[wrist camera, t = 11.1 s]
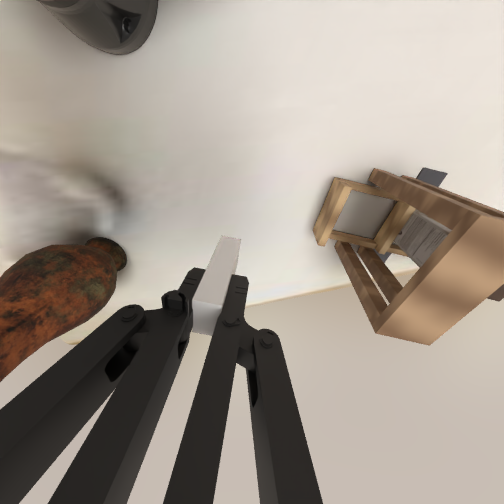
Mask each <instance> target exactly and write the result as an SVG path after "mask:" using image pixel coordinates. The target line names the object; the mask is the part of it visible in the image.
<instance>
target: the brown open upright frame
mask: <svg viewBox="0 0 504 504" xmlns="http://www.w3.org/2000/svg"><path fill="white" fill-rule="evenodd" d="M368 180H369V181H370V182H372V183H374V184H375V185H377V186H379V187H380V188H382V189H384V190H385V191H387V192H389V193H390V194H392V195H394V196H395V197H397V198H399V199H400V200H402V201H404V202H405V203H407V204H409V205H410V206H412V207H414V208H415V209H417V210H419V211H420V212H422V213H424V214H425V215H427V216H429V217H430V218H432V219H434V220H435V221H437V222H439V223H440V224H442V225H444V226H445V227H447V228H449V229H450V230H452V231H451V232H450V233H449V234H448V236H447V237H446V238H445V239H444V240H443V241H442V243H441V244H440V245H439V246H438V247H437V249H436V250H435V251H434V252H433V253H432V254H431V256H430V257H429V258H428V259H427V260H426V262H425V263H424V264H423V265H422V266H421V267H420V269H419V270H418V271H417V272H416V273H415V275H414V276H413V277H412V278H411V279H410V280H409V282H408V283H407V284H406V285H405V286H404V288H403V287H402V286H401V284H400V283H399V282H398V280H397V279H396V278H395V277H394V275H393V274H392V273H391V271H390V270H389V269H388V268H387V266H386V265H385V264H384V262H383V261H382V260H381V259H380V257H379V256H378V255H377V253H376V252H375V251H374V250H373V248H369V247H364V246H360V248H359V249H358V251H357V253H358V254H359V256H360V257H361V259H362V261H363V262H364V264H365V265H366V267H367V269H368V270H369V272H370V273H371V275H372V276H373V278H374V280H375V281H376V283H377V284H378V286H379V287H380V289H381V291H382V292H383V294H384V295H385V297H386V298H387V300H388V302H389V303H390V304H389V305H388V306H387V304H386V302H385V301H384V299H383V297H382V296H381V294H380V293H379V291H378V289H377V288H376V286H375V284H374V283H373V281H372V280H371V278H370V276H369V275H368V273H367V271H366V270H365V268H364V266H363V265H362V263H361V262H360V260H359V258H358V257H357V255H356V253H355V252H354V250H353V249H352V247H351V245H350V244H349V243H347V242H343V241H339V240H337V242H336V244H335V246H334V247H335V249H336V251H337V253H338V255H339V257H340V260H341V262H342V264H343V266H344V268H345V270H346V272H347V274H348V276H349V279H350V281H351V283H352V285H353V287H354V289H355V291H356V293H357V295H358V297H359V299H360V302H361V304H362V306H363V308H364V310H365V312H366V314H367V316H368V318H369V321H370V322H371V325H372V327H373V329H374V331H375V333H376V334H381V335H385V336H390V337H394V338H398V339H403V340H407V341H412V342H416V343H421V344H425V345H431V344H432V343H433V342H434V341H435V340H437V339H438V338H439V337H440V336H441V335H443V334H444V333H445V332H446V331H448V330H449V329H450V328H451V327H452V326H454V325H455V324H456V323H457V322H458V321H459V320H461V319H462V318H463V317H464V316H466V315H467V314H468V313H469V312H470V311H472V310H473V309H474V308H475V307H476V306H478V305H479V304H480V303H481V302H482V301H484V300H485V299H486V298H487V297H489V296H490V295H491V294H492V293H493V292H495V291H496V290H497V289H498V288H499V287H501V286H502V285H503V284H504V212H502V211H499V210H497V209H494V208H491V207H489V206H486V205H483V204H481V203H478V202H476V201H473V200H470V199H468V198H465V197H462V196H460V195H457V194H455V193H452V192H449V191H447V190H444V189H441V188H439V187H436V186H434V185H431V184H428V183H426V182H423V181H421V180H418V179H415V178H412V177H408V176H404V175H402V176H401V177H399V176H396V175H394V174H391V173H389V172H387V171H383V170H379V169H375V168H374V169H373V171H372V173H371V175H370V177H369V179H368Z"/></svg>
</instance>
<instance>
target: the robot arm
mask: <svg viewBox="0 0 504 504" xmlns="http://www.w3.org/2000/svg"><path fill="white" fill-rule="evenodd" d="M37 1H39V2H40V3H41V4H42V5H43V6H45V7H46V8H47V9H48V10H49V11H50V12H51V13H52V14H53V15H54V16H55V17H56V18H57V19H58V20H59V21H60V22H61V23H63V24H64V25H65V26H66V27H67V28H68V29H69V30H70V31H71V32H72V33H73V34H75V35H76V36H77V37H78V38H80V39H81V40H83V41H84V42H86V43H88V44H89V45H91V46H93V47H96V48H98V49H100V50H103V51H105V52H108V53H112V54H127V53H130V52H132V51H134V50H136V49H137V48H139V47H140V46H141V45H142V44H143V43H144V42H145V40H146V39H147V37H148V36H149V34H150V32H151V30H152V27H153V25H154V21H155V18H156V13H157V5H158V0H37ZM240 242H241V239H237V238H231V237H226V236H221V238H220V240H219V243H218V245H217V247H216V249H215V251H214V253H213V256H212V258H211V260H210V262H209V264H208V267H207V269H206V270H205V269H200V268H195V267H194V268H193V269H192V270H190V271H189V272H188V274H187V275H186V277H185V279H184V281H183V283H182V284H181V286H180V288H179V289H178V290H173V291H169V292H167V293H165V294H164V295H163V296H162V297H161V299H162V306H163V308H161V309H156V310H145V311H144V309H143V308H142V307H141V306H140V305H128V306H125V307H123V308H121V309H119V310H118V311H117V312H116V313H114V314H113V315H112V316H111V317H110V318H108V319H107V320H106V321H105V322H104V323H102V324H101V325H100V326H99V327H98V328H97V329H95V330H94V331H93V332H92V333H91V334H89V335H88V336H87V337H86V338H85V339H83V340H82V341H81V342H80V343H79V344H78V345H76V346H75V347H74V348H73V349H72V350H70V351H69V352H68V353H67V354H66V355H65V356H63V357H62V358H61V359H60V360H59V361H57V362H56V363H55V364H54V365H53V366H52V367H50V368H49V369H48V370H47V371H46V372H44V373H43V374H42V375H41V376H40V377H38V378H37V379H36V380H35V381H34V382H32V383H31V384H30V385H29V386H28V387H27V388H25V389H24V390H23V391H22V392H21V393H19V394H18V395H17V396H16V397H15V398H13V399H12V400H11V401H10V402H9V403H8V404H6V405H5V406H4V407H3V408H2V409H1V410H0V504H19V503H20V501H21V500H22V499H23V498H24V497H25V496H26V494H27V493H28V492H29V491H30V490H31V488H32V487H33V486H34V485H35V484H36V482H37V481H38V480H39V479H40V478H41V476H42V475H43V474H44V473H45V472H46V471H47V469H48V468H49V467H50V466H51V464H52V463H53V462H54V461H55V460H56V459H57V457H58V456H59V455H60V454H61V453H62V451H63V450H64V449H65V448H66V446H68V444H69V443H70V442H71V441H72V440H73V438H74V437H75V436H76V435H77V434H78V432H79V431H80V430H81V429H82V428H83V426H84V425H85V424H86V423H87V422H88V420H89V419H90V418H91V417H92V416H93V414H94V413H95V412H96V411H97V410H98V409H99V407H100V406H101V405H102V404H103V403H104V401H105V400H106V399H107V398H108V397H109V395H110V394H111V393H112V392H113V391H114V392H113V394H112V395H111V397H110V399H109V401H108V402H107V404H106V406H105V407H104V409H103V411H102V412H101V414H100V416H99V418H98V419H97V421H96V423H95V424H94V426H93V428H92V429H91V431H90V433H89V435H88V436H87V438H86V440H85V441H84V443H83V445H82V446H81V448H80V450H79V451H78V453H77V455H76V457H75V458H74V460H73V462H72V463H71V465H70V467H69V468H68V470H67V472H66V474H65V475H64V477H63V479H62V480H61V482H60V484H59V486H58V487H57V489H56V491H55V492H54V494H53V496H52V497H51V499H50V501H49V502H48V504H127V501H128V498H129V496H130V493H131V491H132V488H133V486H134V483H135V480H136V478H137V475H138V472H139V470H140V467H141V465H142V462H143V460H144V457H145V454H146V452H147V449H148V447H149V444H150V441H151V439H152V436H153V433H154V431H155V428H156V426H157V423H158V421H159V418H160V415H161V413H162V410H163V408H164V405H165V402H166V400H167V397H168V395H169V392H170V389H171V387H172V384H173V382H174V379H175V377H176V374H177V371H178V369H179V366H180V363H181V361H182V358H183V356H184V353H185V351H186V348H187V345H188V343H189V338H190V337H189V336H190V332H191V330H192V332H195V333H200V334H206V335H211V336H212V339H211V342H210V346H209V350H208V352H207V356H206V359H205V363H204V366H203V369H202V373H201V376H200V380H199V383H198V386H197V390H196V393H195V397H194V400H193V403H192V407H191V410H190V414H189V417H188V420H187V424H186V427H185V431H184V434H183V438H182V441H181V444H180V448H179V451H178V454H177V458H176V461H175V465H174V468H173V471H172V475H171V478H170V482H169V485H168V488H167V492H166V495H165V499H164V502H163V504H213V499H214V494H215V488H216V482H217V476H218V469H219V463H220V457H221V451H222V445H223V439H224V432H225V427H226V421H227V415H228V409H229V403H230V397H231V391H232V385H233V378H234V372H235V366H236V363H238V364H239V365H241V366H243V367H245V368H246V374H247V384H248V393H249V402H250V411H251V422H252V430H253V440H254V450H255V460H256V468H257V479H258V487H259V498H260V504H323V502H322V498H321V494H320V490H319V487H318V483H317V479H316V476H315V471H314V468H313V464H312V460H311V456H310V453H309V449H308V445H307V441H306V437H305V433H304V430H303V426H302V422H301V418H300V415H299V411H298V407H297V403H296V399H295V396H294V392H293V388H292V384H291V380H290V377H289V373H288V369H287V365H286V361H285V358H284V354H283V350H282V347H281V342H280V339H279V337H278V335H277V334H276V333H275V332H274V331H272V330H269V329H261V330H259V331H258V330H256V329H254V328H253V327H251V326H250V325H248V324H247V323H246V321H245V319H244V309H245V303H246V297H247V291H248V285H249V282H248V279H247V277H244V276H239V275H235V271H236V267H237V261H238V255H239V248H240ZM115 388H116V389H115Z"/></svg>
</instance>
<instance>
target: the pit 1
mask: <svg viewBox="0 0 504 504" xmlns="http://www.w3.org/2000/svg"><path fill="white" fill-rule="evenodd" d="M373 250H374V251H375V252H376V253H377V255H378V256H379V257H380V259H381V260H382V261H383V262H384V263H385V261H386V260H387V258H388V257H389V256H390V254H391V253H390V252H386V253H385V254H380V253H378V252H377V251H376V250H375V249H373Z"/></svg>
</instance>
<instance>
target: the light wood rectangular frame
mask: <svg viewBox="0 0 504 504" xmlns="http://www.w3.org/2000/svg"><path fill="white" fill-rule="evenodd" d="M351 190H355V191H359V192H364V193H368V194H372V195H376V196H380V197H384V198H389V199H393V200H397V203H396V205H395V206H394V208H393V209H392V211H391V213H390V214H389V216H388V217H387V219H386V221H385V222H384V224H383V225H382V227H381V229H380V230H379V232H378V233H377V235H376V237H375V238H374V240H372V239H368V238H364V237H360V236H355V235H351V234H347V233H343V232H338V231H334V230H332V229H333V227H334V225H335V223H336V221H337V219H338V217H339V215H340V213H341V211H342V208H343V206H344V204H345V202H346V200H347V198H348V196H349V194H350V192H351ZM414 211H415V208H414V207H412V206H410V205H409V204H407V203H405V202H404V201H402V200H400V199H399V198H397V197H395V196H394V195H392V194H390V193H389V192H387V191H385V190H384V189H382V188H378V187H374V186H370V185H366V184H361V183H357V182H353V181H349V180H345V179H341V178H336V177H335V178H334V180H333V183H332V185H331V188H330V190H329V192H328V195H327V197H326V200H325V202H324V204H323V207H322V209H321V212H320V214H319V217H318V219H317V221H316V224H315V226H314V229H313V232H314V235H315V238H316V241H317V244H318V245H319V246H325V244H326V242H327V240H328V238H330V239H334V240H339V241H343V242H347V243H351V244H356V245H360V246H364V247H369V248H373V249H375V250H376V251H377V252H378V253H380V254H385V253H386V252H390V253H394V254H399V255H403V256H407V257H409V256H408V255H407V254H406V253H405V252H404V251H403V250H402V249H401V248H400V247H399V246H398V245H394V244H392V243H393V241H394V240H395V238H396V237H397V235H398V234H399V233H400V231H401V230H402V228H403V227H404V225H405V224H406V222H407V221H408V219H409V218H410V217H411V215H412V214H413V212H414Z"/></svg>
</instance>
